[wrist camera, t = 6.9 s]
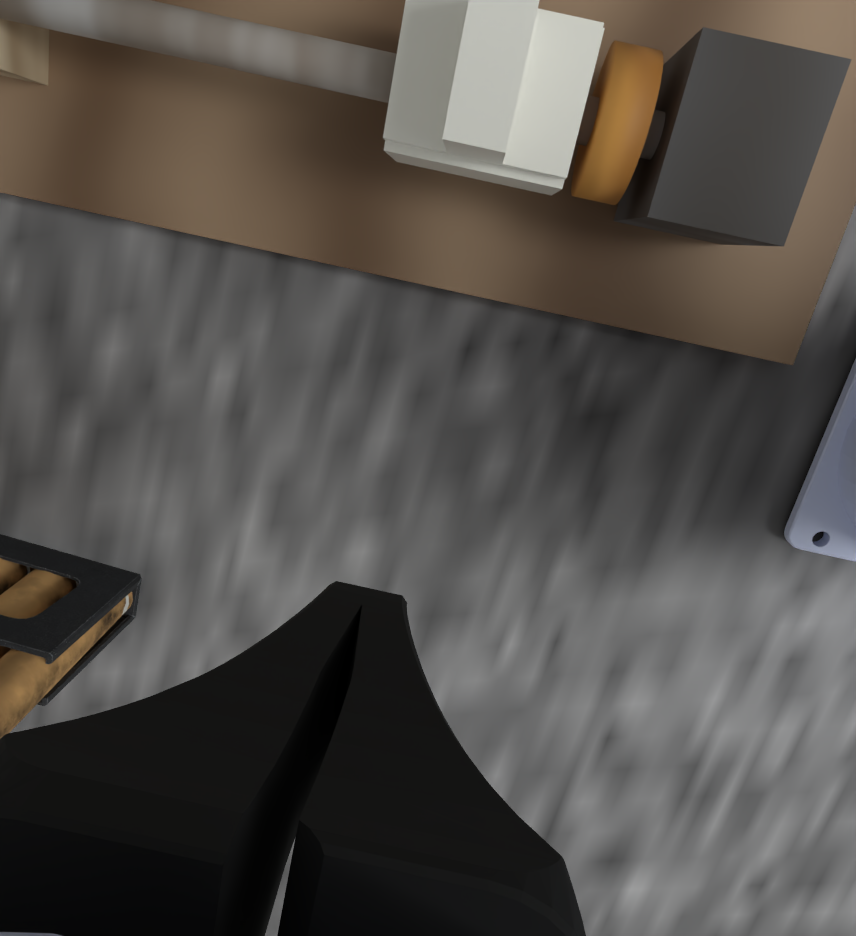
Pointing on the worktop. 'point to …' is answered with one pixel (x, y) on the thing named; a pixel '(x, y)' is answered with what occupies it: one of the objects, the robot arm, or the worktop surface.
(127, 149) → the rail board
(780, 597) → the worktop surface
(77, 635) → the ammunition clip
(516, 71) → the white slotted bracket
